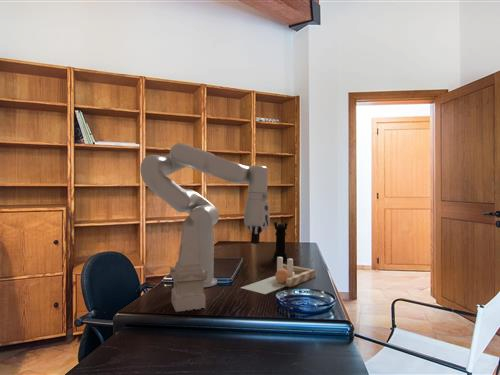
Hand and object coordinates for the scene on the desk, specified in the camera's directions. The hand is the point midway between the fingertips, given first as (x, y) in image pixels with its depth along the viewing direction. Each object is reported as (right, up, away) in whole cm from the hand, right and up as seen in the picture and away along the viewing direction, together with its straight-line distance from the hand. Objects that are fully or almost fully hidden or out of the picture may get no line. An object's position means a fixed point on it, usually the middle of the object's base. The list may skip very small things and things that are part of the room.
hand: (255, 243), depth 139 cm
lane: (+10, -17, +7) cm, 21 cm away
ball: (+11, -14, +5) cm, 19 cm away
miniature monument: (-23, -17, -22) cm, 36 cm away
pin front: (+11, -16, +9) cm, 22 cm away
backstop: (+13, -17, +14) cm, 26 cm away
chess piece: (+14, -17, +51) cm, 56 cm away
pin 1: (+11, -17, +13) cm, 24 cm away
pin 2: (+15, -17, +10) cm, 25 cm away
